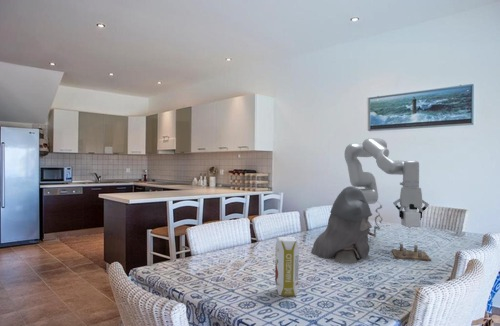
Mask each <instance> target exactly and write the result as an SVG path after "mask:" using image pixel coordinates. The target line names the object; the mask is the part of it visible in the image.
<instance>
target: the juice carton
mask: <svg viewBox="0 0 500 326" xmlns="http://www.w3.org/2000/svg"><path fill="white" fill-rule="evenodd" d="M298 243H299V242H298V240H296V238H295V237H294V236H277V237H276V242H275V262H274V263H275V264H274V265H275V269H274V270H275V271H274V273H275V274H274V275H275V278H274V280H275V281H274V282H275V283H274V284H275V286H276V287H275V288H276V290H277V294H278V296H279V295H282V296H281V297H295V296H297V295H298V290H299V270H300V268H299V266H300V265H299V262H300V261H299V259H300V258H299V257H300V252H299V251H300V247H299V244H298ZM284 295H285V296H284Z"/></svg>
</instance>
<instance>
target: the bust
mask: <svg viewBox="0 0 500 326" xmlns="http://www.w3.org/2000/svg"><path fill="white" fill-rule="evenodd" d="M359 189H360V188H359V187H354V186H352V185H349V186H346V187H345V188H343V189H342V190H341V191H340V193H338V194H337V197H336V198H335V200H334V202H333V204H332V207H331V210H330V211H329V213H330V214H329V217H328V219H327V220H328V221H327V222H328V223H327V226H326V228H325V230H324V231H323V232H322V233H320V234H319V235H318V237H317V238H316V239H315V240H314V243H313V246H312V249H311V251H310V254H312V255H313V256H317V257H319V258H323V259H333V261H334V262H336V263H338V264H347V265H349V264H350V265H351V264H352V265H353V264H357V261H358V260H365V259H368V256H369V253H370V245H369V242H368V238H369V236H371V237H377V230H380V229H381V226H380V225H379V224H378V221H377V218H378V217H379V218H380V220H379V223H380V224H382V221H383V220H384V219H383V217H382V216H381V214H380V213H379V212H378V210H381V209H383V204H382V203H381V202H379V201H378V200H377V199H376V201H377V202H376V203H379V205H380V206H379V207H377V208H376V209H375V213H377V215H376V216H375V218H374V223H375V226H374V227H373V232H371V229H372V224H371V222H370V221H369V217H371V216H373V213H372V210H371V208H370V204H368V203H367V201H366V199H365V197H364V195H363V193H362V192H361V191H360V190H359ZM368 235H369V236H368ZM357 259H358V260H357Z"/></svg>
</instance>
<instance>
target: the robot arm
mask: <svg viewBox="0 0 500 326" xmlns="http://www.w3.org/2000/svg"><path fill="white" fill-rule="evenodd" d="M387 144H388V143H387V141H386V140H384V139H383V138H374V137H368V138H366V139H364V140H363V142H362V143H357V142H355V143H349V144H348V145H346V147H345V150H344V159H345V162H346V166H347V171H348V176H349V182H350V186H352V187H356V188H358V189H359V190H360V191H361V192H362V193H363V195H364V197H365V199H366V201H367V203H368V205H374V204H376V203H378V202H377V201H378V199H379V193H378V192H379V191H378V185H377V181H376V177H375V176H374V174H373V173H372V172H368V171H364V170H363V166H362V163H361V161H360V160H359V159H358V158H371V157H372V158H374V159H375V162H376V164H377V165H376V166H377V167H378V168H379V169H380V170H381V171H382V172H384V173H385V174H388V175H395V176H396V175H399V176H401V175H402V181H401V182H399V185H400V186H401V188H400V194H399V198H398V199H397V200H395V201H394V202H393V205H394V207H395V208H397V210H398V217H399V218H400V220H401V219H403V211H404V207H409V204H414V207H417V210H418V211H417V212H418V213H420V214H421V217H420V221H422V219H423V212H424V211H425V210H426V209H427V208H428V206H430V203H428V202H426V201H425V200H424V199H423V192H422V188H421V187H420V163H419V161H417V160H399V159H398V160H394V159H390V158H389V155H390V151H389V149H388V145H387ZM376 199H377V201H376ZM398 204H399V205H400V206H399V205H398ZM369 242H371V238H370V237H368V243H369Z"/></svg>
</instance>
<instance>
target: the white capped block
mask: <svg viewBox="0 0 500 326" xmlns="http://www.w3.org/2000/svg"><path fill="white" fill-rule="evenodd" d="M402 211H403V219H401V218H400V223H401V225H402V226H404V227H405V228H421V220H420V217H421V214H420V213H418V212H419V211H418V208H417V207H414V204H409V207H404V208H403V210H402Z"/></svg>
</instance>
